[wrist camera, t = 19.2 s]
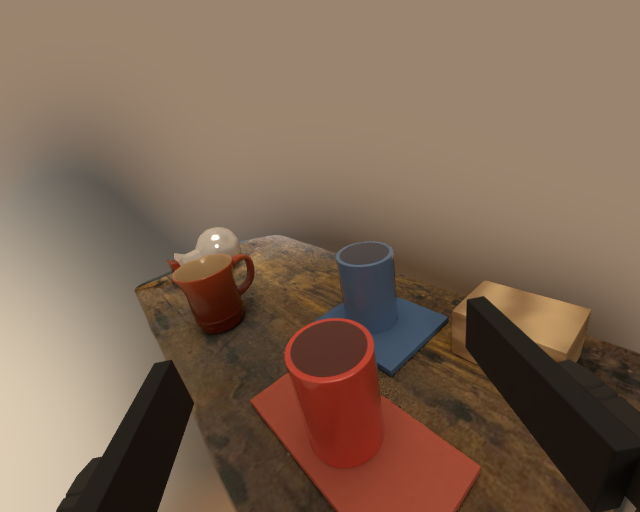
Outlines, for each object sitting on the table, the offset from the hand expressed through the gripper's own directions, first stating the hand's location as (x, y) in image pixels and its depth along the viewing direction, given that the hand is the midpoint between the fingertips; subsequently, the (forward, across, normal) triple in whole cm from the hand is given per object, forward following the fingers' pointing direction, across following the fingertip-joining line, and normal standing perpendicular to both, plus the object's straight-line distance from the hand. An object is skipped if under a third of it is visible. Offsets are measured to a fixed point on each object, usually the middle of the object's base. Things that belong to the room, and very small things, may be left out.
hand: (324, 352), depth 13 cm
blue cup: (+24, +6, -17) cm, 30 cm away
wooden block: (+14, +20, -18) cm, 30 cm away
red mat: (+8, 0, -18) cm, 20 cm away
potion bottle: (+51, -23, -18) cm, 59 cm away
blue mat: (+23, +7, -18) cm, 30 cm away
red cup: (+8, 0, -17) cm, 19 cm away
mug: (+32, -15, -18) cm, 40 cm away
